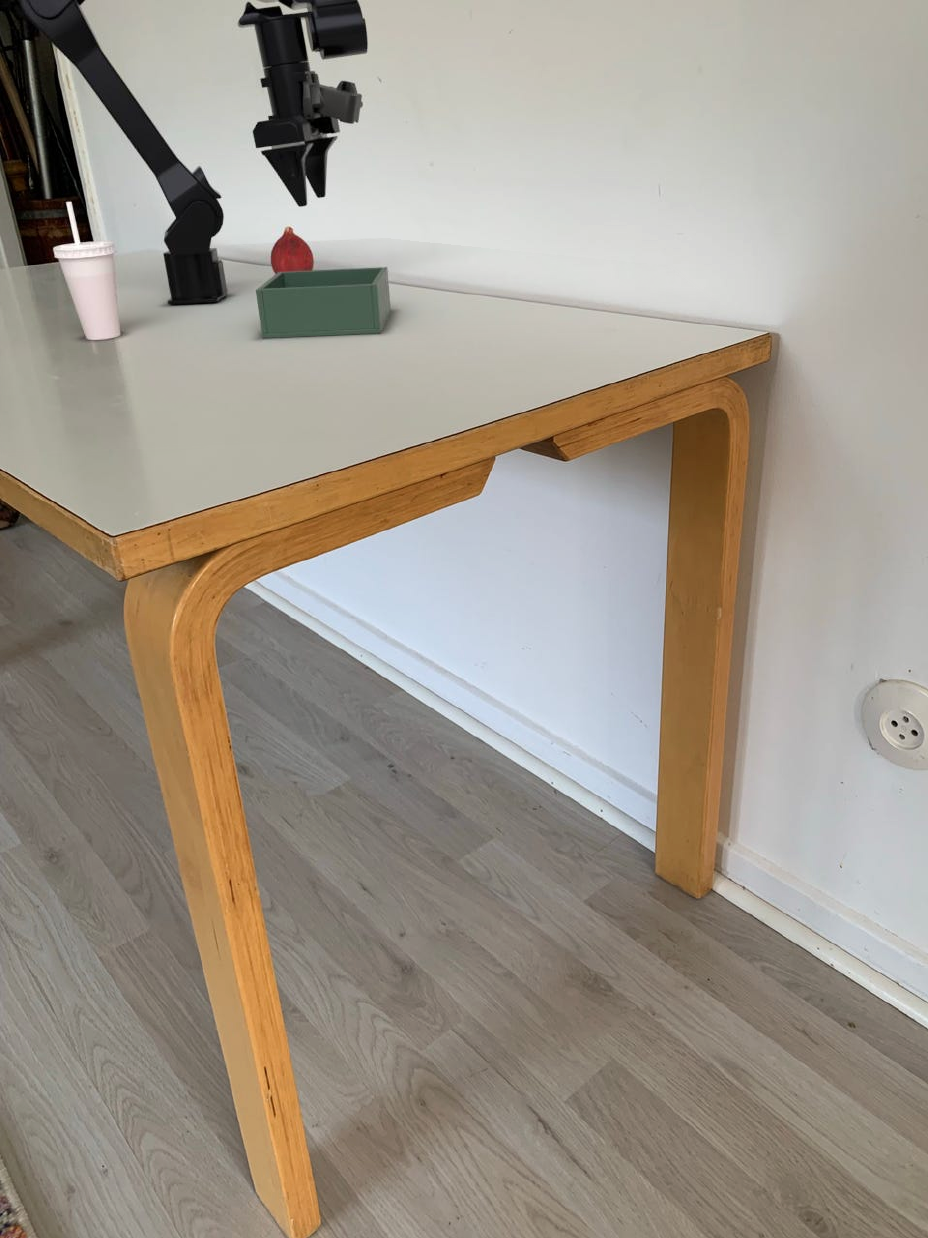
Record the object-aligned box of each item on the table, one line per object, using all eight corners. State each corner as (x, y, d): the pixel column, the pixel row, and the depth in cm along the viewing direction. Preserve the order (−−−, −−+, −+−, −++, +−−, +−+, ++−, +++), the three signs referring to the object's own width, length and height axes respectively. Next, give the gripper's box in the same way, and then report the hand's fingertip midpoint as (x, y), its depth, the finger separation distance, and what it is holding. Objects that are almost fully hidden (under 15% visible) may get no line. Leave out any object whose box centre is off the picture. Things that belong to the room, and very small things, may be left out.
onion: (318, 290, 130) (311, 227, 126) (275, 293, 129) (267, 230, 125) (314, 284, 135) (307, 223, 131) (273, 287, 134) (265, 226, 130)
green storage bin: (262, 338, 103) (255, 289, 100) (284, 315, 114) (278, 271, 112) (380, 333, 102) (376, 284, 100) (390, 311, 113) (387, 266, 111)
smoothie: (70, 335, 109) (39, 202, 102) (127, 327, 111) (100, 197, 105) (77, 344, 104) (45, 205, 97) (137, 336, 106) (110, 200, 100)
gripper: (330, 54, 108) (355, 202, 116) (365, 55, 124) (385, 185, 132) (237, 69, 110) (268, 214, 118) (284, 68, 126) (309, 196, 134)
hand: (312, 201), depth 125 cm, fingers open, 9 cm apart
